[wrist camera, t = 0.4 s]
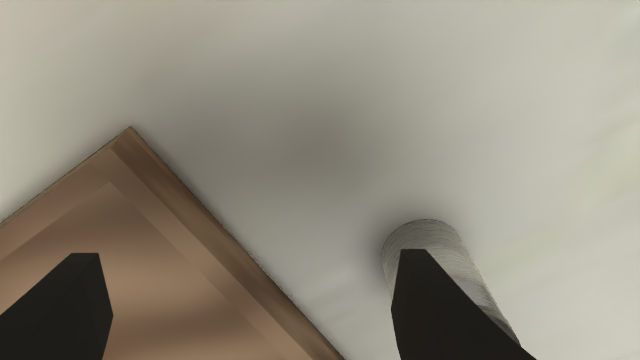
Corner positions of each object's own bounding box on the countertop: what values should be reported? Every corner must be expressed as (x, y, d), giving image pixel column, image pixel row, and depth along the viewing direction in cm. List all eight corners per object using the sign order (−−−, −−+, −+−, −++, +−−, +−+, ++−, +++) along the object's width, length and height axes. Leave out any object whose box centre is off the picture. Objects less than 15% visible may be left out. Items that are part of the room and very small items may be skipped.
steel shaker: (445, 294, 25) (494, 410, 19) (369, 279, 25) (393, 393, 18) (476, 228, 24) (541, 330, 17) (396, 210, 23) (433, 309, 17)
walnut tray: (359, 375, 27) (364, 413, 25) (170, 475, 30) (160, 517, 28) (130, 126, 21) (109, 148, 18) (-84, 286, 24) (-124, 321, 21)
